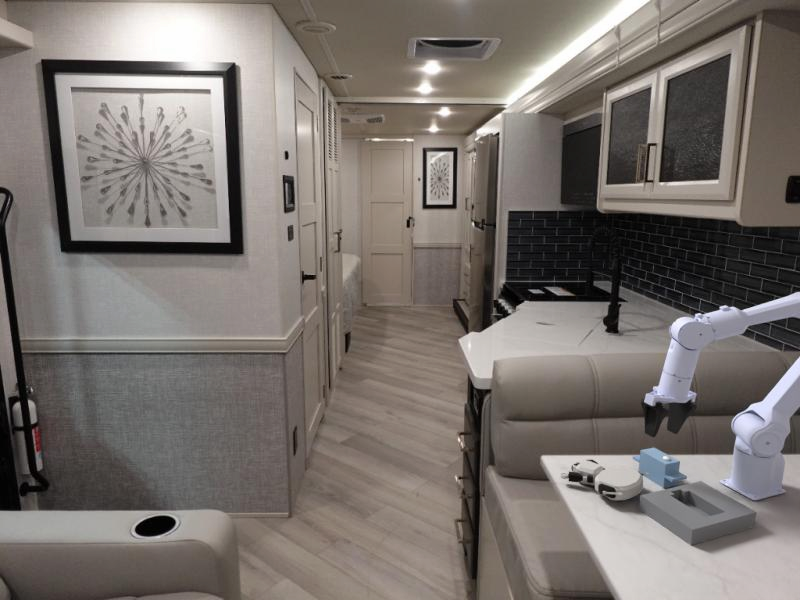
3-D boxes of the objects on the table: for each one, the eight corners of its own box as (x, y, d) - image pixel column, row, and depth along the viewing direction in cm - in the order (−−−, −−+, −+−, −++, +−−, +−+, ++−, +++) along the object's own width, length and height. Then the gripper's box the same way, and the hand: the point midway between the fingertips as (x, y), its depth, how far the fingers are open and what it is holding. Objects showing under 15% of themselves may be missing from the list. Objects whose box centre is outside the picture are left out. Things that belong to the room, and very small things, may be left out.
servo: (645, 466, 124) (647, 442, 123) (685, 489, 114) (688, 463, 112) (631, 468, 122) (633, 444, 121) (670, 493, 112) (673, 467, 111)
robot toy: (556, 488, 115) (624, 513, 104) (556, 468, 115) (624, 491, 104) (586, 470, 124) (652, 491, 112) (586, 451, 123) (652, 471, 112)
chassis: (699, 494, 112) (700, 481, 111) (754, 526, 100) (756, 511, 100) (639, 509, 106) (640, 495, 105) (690, 545, 95) (692, 529, 94)
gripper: (681, 366, 119) (665, 422, 122) (638, 368, 112) (623, 427, 115) (711, 378, 113) (694, 437, 116) (669, 381, 106) (651, 443, 109)
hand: (661, 433), depth 115 cm, fingers open, 7 cm apart
